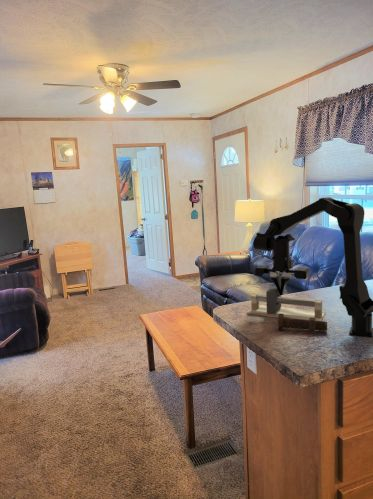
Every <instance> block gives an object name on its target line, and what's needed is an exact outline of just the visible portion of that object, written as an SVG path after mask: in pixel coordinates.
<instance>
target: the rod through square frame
mask: <svg viewBox="0 0 373 499" xmlns="http://www.w3.org/2000/svg"><path fill="white" fill-rule="evenodd" d="M250 301H251V302H250V304H251V308H250V309H249V310H248V311H246V315H252V316H254V315H255V316H259V317H260V316H263V317H269V318H277V319H278V315H279V314H284V317H285V318H290V319H300V320H309V318H310V317H313V318H315V321H322V320H323V319H324V318H325V315H326V313H327V312H326V311H323V300H322V299H310V298H302V297H301V298H299V297H289V296H281V297H280V296H276V301H277V303H280V304H281V305H291V306H298V307H299V306H301V307H311V308H314V310H311V309H300V308H293V307H283V306H281V308H280V309H279V310H278V311H277V312H276V313H275V314H273V313H267V304H266V305H265V304H264V305H263V304H260V302H261V303H262V302H263V303H267V300H266V294H259V293H253V294H252V295H250Z"/></svg>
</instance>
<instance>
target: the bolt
mask: <svg viewBox="0 0 373 499" xmlns="http://www.w3.org/2000/svg"><path fill="white" fill-rule="evenodd" d="M284 329H295V330H296V329H297V330H307V331H308V332H309V333H311V334H313V333H316V331H319V332H320V331H321V332H327V331H328V322H327V321H324V320H323V321H315V318H313V317H310V318H309V320H300V319H290V318H285V317H284V314H279V315H278V318H277V330H278V332H283V331H284Z"/></svg>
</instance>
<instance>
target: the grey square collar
mask: <svg viewBox="0 0 373 499" xmlns="http://www.w3.org/2000/svg"><path fill="white" fill-rule="evenodd" d="M265 293H266V294H265V295H266V300H267V302H266V306H267V313H273V314H275V313H276V312H277V311H278V310H279V309H280V308H281V307H282V304H280V303H277V301H276V296H280V297H282V295H280V294H279V291H278V289H277V287H276V285H272V286H271V287H270V288H268V289H267V290H266V291H265Z"/></svg>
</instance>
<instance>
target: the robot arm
mask: <svg viewBox="0 0 373 499" xmlns="http://www.w3.org/2000/svg"><path fill="white" fill-rule="evenodd" d="M323 212H325V213H326V214H328V215H329V216H331V217H333V218H335V219H336V221H337V225H338V228H339V230H340V231H341V233H342V236H343V237H342V238H343V253H344V266H345V267H344V268H345V282H344V284H341V285H339V293H340V296H339V300H341V303H342V305H343V306H344V308H345V310H346V312H347V315H348V316H350V317H351V327H350V329H349V330H348V334H349V335H353V336H360V337H368V338H373V299H372V298H371V297H370V294H369V290H368V286H367V284H366V282H365V281H364V279H363V266H362V264H363V262H362V247H361V246H362V244H361V230H362V228H363V225H364V220H365V209H364V207H363V206H362V205H361V204H359V203H356V202H354V203H349V202H347V201H346V202H345V201H343V200H342V201H341V200H338V199H335V198H332V197H329V196H326V197H321V198H319V199H318V200H316V201H314V202H312V203H310V204H308V205H306V206H305V207H302V208H300V209H298V210H296V211H294V212H292V213H291V214H287V215H283V216H279V217H276V218H272V219H271V220H270V221H269V226H268V228H267V230H266V231H265V232H261V231H258V232H256V236H255V237H254V238H253V242H252V245H253V246H252V247H253V248H254V250H256V251H260V252H261V251H262V252H272V256H271V260H272V268H270V267H269V265H262V264H261V265H258V266H257V267H255V268H254V271H253V275H254V276H256V277H263V276H264V275H265V274H269V280H272V282H273V283H274V286H276V287H277V289H278V291H279V294H280V295H281V296H283V295H284V293H285V290H286V287H287V284H288V282H289V281H290V280H292V278H293V277H294V278H295V279H297V280H298V279H299V280H307V279H308V278H309V276H310V269H309V268H308V267H297V268H296V269H293V268H294V260H293V259H292V258H291V255H290V242H292V241H293V242H294V241H295V240H296V239H295V237H294V236H293V235H291V233H289V232H291V231H293V230H294V229H295V228H296V227H297V226H298V225H299V224H301V223H303V222H305V221H307V220H309V219H311V218H313V217H315V216H317V215H320V214H321V213H323ZM283 234H285V235H283ZM276 236H277V237H276Z"/></svg>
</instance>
